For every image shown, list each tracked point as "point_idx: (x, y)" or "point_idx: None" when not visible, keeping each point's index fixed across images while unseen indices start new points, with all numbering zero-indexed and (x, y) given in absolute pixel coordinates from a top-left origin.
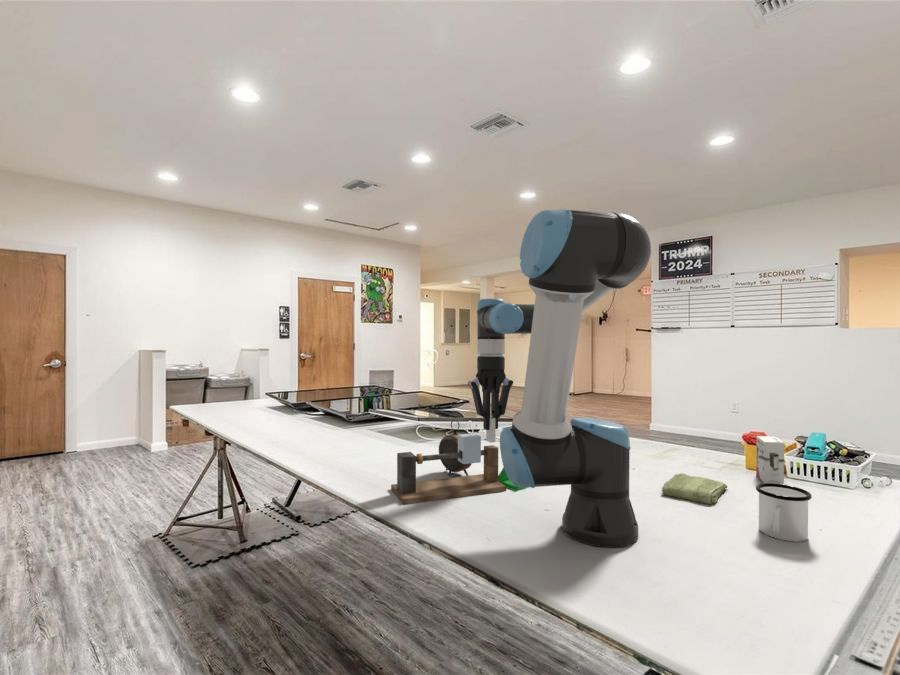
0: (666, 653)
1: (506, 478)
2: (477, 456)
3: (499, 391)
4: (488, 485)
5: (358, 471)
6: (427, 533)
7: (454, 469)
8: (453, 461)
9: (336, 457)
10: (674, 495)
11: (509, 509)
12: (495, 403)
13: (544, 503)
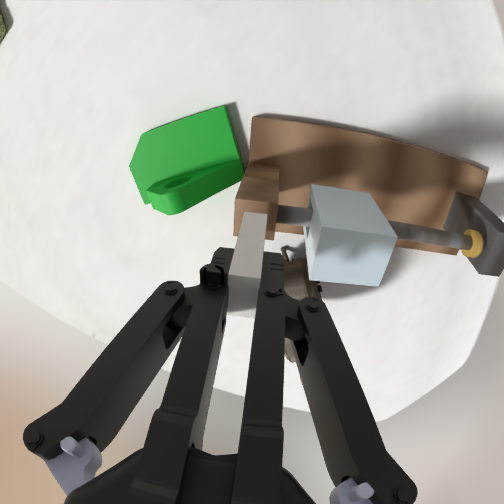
0: None
1: (220, 164)
2: (325, 193)
3: (156, 415)
4: (292, 144)
5: (424, 343)
6: (499, 38)
7: None
8: (316, 284)
9: (398, 393)
10: (2, 20)
11: (320, 11)
12: (209, 346)
13: (215, 8)
